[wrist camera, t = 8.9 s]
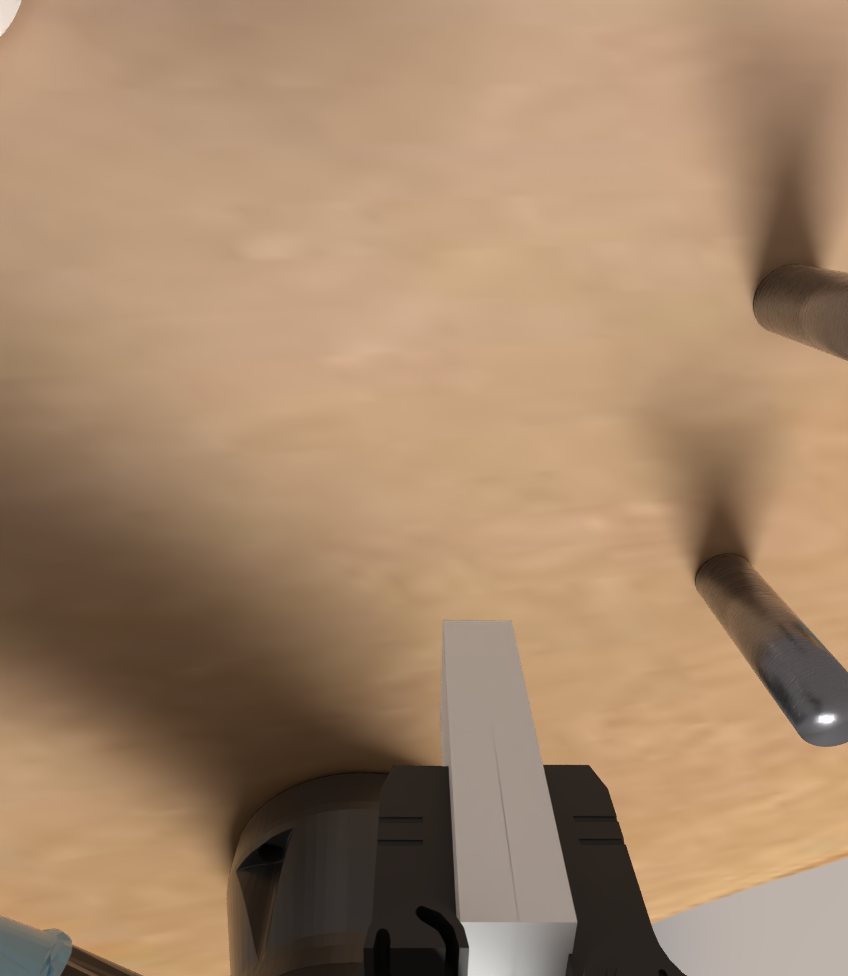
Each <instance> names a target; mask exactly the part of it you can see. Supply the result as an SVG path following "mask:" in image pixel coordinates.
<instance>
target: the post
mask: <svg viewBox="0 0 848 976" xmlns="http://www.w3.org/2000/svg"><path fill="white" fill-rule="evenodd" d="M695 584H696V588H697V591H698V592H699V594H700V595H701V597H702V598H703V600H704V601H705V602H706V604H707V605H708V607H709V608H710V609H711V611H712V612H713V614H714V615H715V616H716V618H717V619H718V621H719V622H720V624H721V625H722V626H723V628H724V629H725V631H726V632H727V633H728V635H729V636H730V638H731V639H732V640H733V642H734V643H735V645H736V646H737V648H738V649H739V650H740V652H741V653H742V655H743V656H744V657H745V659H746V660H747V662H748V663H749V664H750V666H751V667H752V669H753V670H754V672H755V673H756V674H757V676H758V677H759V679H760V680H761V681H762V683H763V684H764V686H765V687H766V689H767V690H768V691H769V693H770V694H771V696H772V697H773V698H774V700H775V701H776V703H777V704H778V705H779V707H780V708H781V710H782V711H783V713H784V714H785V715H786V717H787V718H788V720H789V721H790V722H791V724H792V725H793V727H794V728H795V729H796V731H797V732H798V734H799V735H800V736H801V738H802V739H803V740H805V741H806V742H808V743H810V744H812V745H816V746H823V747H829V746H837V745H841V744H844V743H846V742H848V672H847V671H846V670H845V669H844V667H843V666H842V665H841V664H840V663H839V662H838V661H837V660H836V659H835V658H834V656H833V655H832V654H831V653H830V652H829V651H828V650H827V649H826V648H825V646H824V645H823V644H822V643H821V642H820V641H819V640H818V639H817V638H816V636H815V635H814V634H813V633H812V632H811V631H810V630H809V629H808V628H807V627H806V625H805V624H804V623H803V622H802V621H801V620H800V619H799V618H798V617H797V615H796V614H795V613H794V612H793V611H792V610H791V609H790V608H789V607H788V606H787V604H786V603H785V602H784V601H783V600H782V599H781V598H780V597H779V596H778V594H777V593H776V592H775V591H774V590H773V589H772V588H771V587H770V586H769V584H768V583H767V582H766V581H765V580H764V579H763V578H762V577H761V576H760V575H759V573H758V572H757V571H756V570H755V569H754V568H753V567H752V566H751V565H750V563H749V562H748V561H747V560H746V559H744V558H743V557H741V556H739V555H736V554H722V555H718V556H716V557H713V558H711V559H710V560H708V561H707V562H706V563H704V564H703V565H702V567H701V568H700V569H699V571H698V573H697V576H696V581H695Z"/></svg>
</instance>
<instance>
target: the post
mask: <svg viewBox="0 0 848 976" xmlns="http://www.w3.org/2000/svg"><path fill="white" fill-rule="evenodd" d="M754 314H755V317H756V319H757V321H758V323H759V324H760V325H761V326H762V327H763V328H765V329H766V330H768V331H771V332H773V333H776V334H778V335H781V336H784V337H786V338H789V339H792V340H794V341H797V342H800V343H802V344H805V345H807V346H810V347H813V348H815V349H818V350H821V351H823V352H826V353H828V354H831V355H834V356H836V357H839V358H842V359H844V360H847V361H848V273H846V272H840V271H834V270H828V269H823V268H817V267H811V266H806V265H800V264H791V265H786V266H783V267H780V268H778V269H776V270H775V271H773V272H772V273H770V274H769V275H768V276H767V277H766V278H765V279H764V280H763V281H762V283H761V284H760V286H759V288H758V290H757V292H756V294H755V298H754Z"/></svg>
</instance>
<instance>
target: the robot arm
mask: <svg viewBox="0 0 848 976" xmlns="http://www.w3.org/2000/svg"><path fill="white" fill-rule="evenodd" d="M440 724H441V749H442V766H393V768H392V770H391V771H390V773H389V775H386V774H375V773H351V774H340V775H333V776H328V777H323V778H319V779H315V780H311V781H308V782H305V783H302V784H300V785H297V786H295V787H292V788H290V789H288V790H286V791H284V792H283V793H281V794H279V795H277V796H276V797H274V798H273V799H271V800H270V801H269V802H267V803H266V804H265V805H264V806H262V807H261V808H260V809H259V810H258V811H257V812H256V813H255V814H254V816H253V817H252V818H251V819H250V821H249V822H248V823H247V825H246V827H245V828H244V830H243V832H242V834H241V836H240V839H239V842H238V845H237V849H236V853H235V856H234V860H233V863H232V867H231V871H230V875H229V879H228V887H227V913H228V933H229V952H230V971H231V976H686V975H685V974H684V973H682V972H681V971H680V970H679V969H678V968H677V967H676V966H675V965H674V964H673V963H672V962H671V961H670V960H669V958H668V957H667V955H666V954H665V952H664V951H663V949H662V948H661V947H660V945H659V943H658V941H657V938H656V936H655V934H654V931H653V929H652V926H651V923H650V919H649V916H648V913H647V910H646V907H645V904H644V901H643V897H642V894H641V891H640V888H639V885H638V882H637V879H636V876H635V872H634V869H633V866H632V863H631V860H630V857H629V854H628V850H627V847H626V845H624V838H623V835H622V832H621V829H620V825H619V822H617V818H616V817H617V816H616V813H615V810H614V807H613V803H612V800H611V797H610V794H609V791H608V788H607V787H606V786H605V785H604V783H603V782H602V781H601V780H600V778H599V777H598V776H597V775H596V773H595V772H594V771H593V770H592V768H591V767H590V766H589V765H543V763H542V758H541V754H540V749H539V744H538V740H537V735H536V731H535V726H534V721H533V717H532V712H531V708H530V703H529V699H528V694H527V689H526V685H525V680H524V676H523V671H522V666H521V662H520V657H519V653H518V648H517V644H516V639H515V634H514V630H513V625H512V621H496V620H443V642H442V674H441V707H440ZM0 976H142V975H140V974H138V973H136V972H133V971H131V970H129V969H126V968H124V967H122V966H120V965H117V964H115V963H113V962H111V961H108V960H106V959H104V958H101V957H99V956H97V955H95V954H92V953H90V952H88V951H86V950H83V949H81V948H79V947H76V946H74V945H72V940H71V939H70V937H69V936H68V935H67V934H65V933H64V932H63V931H61V930H58V929H47V930H43V931H42V930H39V929H36V928H33V927H31V926H28V925H25V924H22V923H20V922H17V921H14V920H11V919H9V918H6V917H3V916H0Z"/></svg>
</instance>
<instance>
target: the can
mask: <svg viewBox="0 0 848 976" xmlns="http://www.w3.org/2000/svg"><path fill="white" fill-rule="evenodd" d="M20 3H21V0H0V36H1V35H2V34H3V33H4V32H5V31H6V30H7V28H8V27H9V25H10V24H11V22H12V21H13V19H14V17H15V15H16V13H17V11H18V9H19V6H20Z"/></svg>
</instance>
